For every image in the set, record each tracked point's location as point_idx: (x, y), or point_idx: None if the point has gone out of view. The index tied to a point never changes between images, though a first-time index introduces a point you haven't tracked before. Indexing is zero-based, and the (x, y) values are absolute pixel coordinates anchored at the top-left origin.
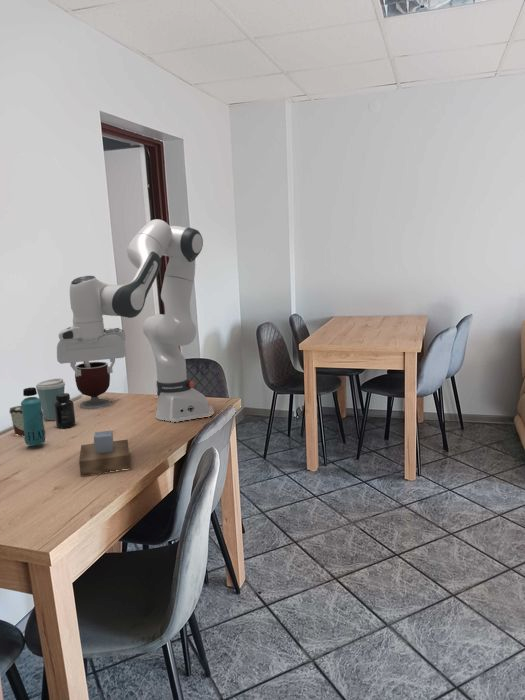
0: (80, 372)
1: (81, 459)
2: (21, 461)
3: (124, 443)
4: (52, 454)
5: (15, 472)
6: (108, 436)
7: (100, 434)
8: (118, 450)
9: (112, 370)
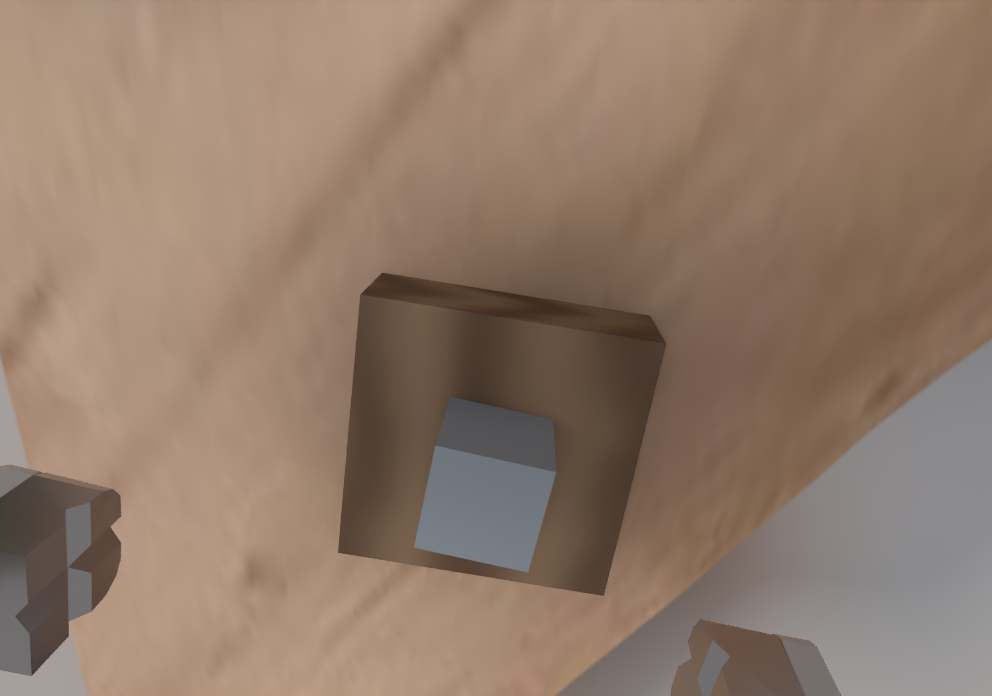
0: (71, 518)
1: (351, 531)
2: (26, 123)
3: (627, 406)
4: (202, 89)
5: (30, 291)
6: (509, 566)
7: (464, 512)
8: (564, 502)
9: (812, 675)
